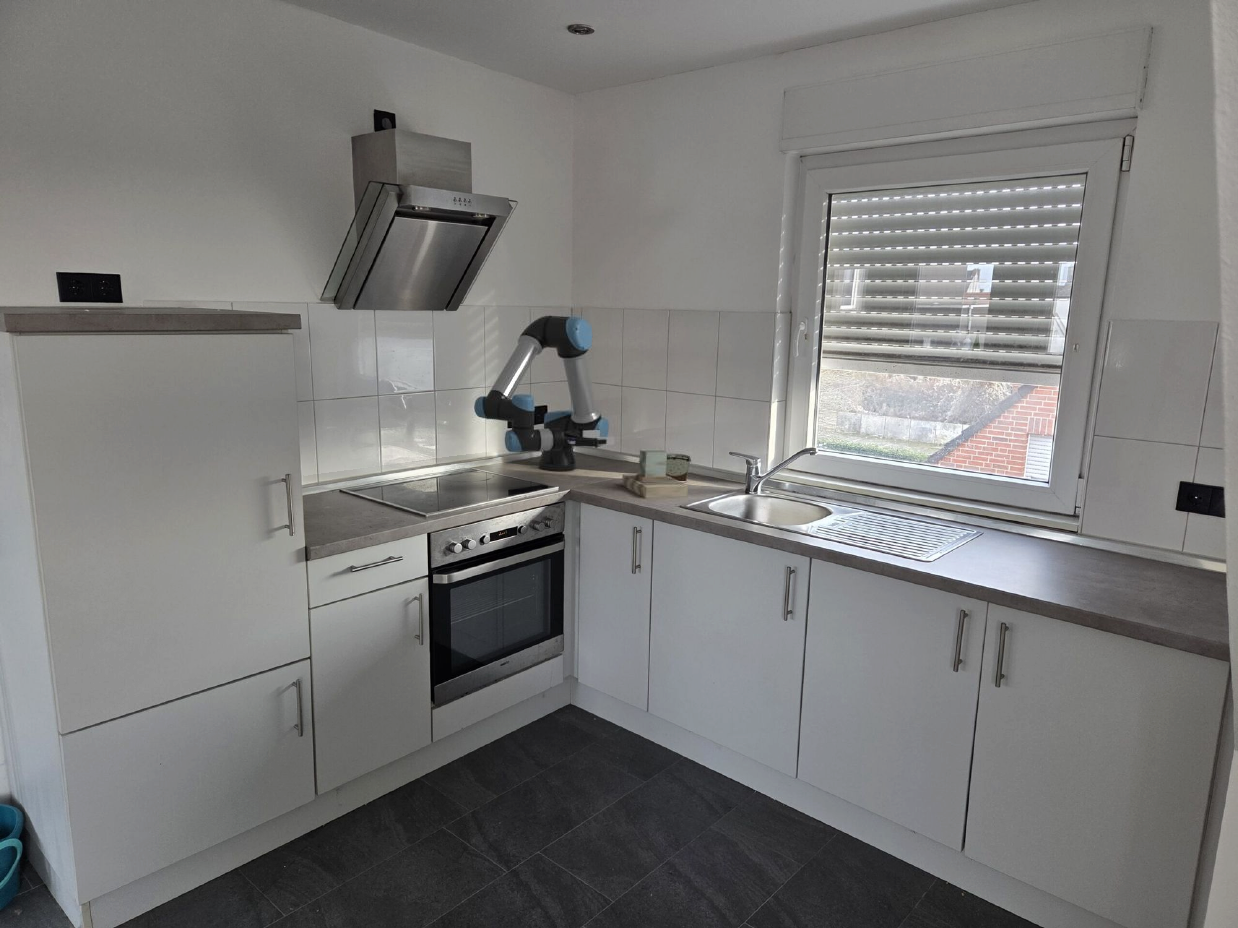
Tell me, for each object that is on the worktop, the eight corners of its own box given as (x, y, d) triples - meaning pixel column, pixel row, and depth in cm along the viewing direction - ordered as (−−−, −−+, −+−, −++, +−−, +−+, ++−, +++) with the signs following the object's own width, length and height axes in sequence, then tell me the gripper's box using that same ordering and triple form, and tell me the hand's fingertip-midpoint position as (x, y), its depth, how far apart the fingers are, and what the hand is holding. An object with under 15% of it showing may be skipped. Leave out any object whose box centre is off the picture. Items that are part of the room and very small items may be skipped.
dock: (622, 484, 302) (622, 473, 301) (661, 483, 308) (661, 472, 307) (645, 498, 282) (646, 486, 281) (687, 496, 288) (687, 485, 288)
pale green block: (635, 478, 295) (637, 449, 293) (660, 477, 299) (662, 449, 297) (642, 481, 289) (644, 452, 288) (667, 480, 293) (669, 452, 291)
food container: (690, 479, 318) (691, 454, 316) (690, 482, 312) (691, 457, 310) (658, 477, 319) (660, 452, 318) (658, 480, 313) (659, 455, 311)
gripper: (538, 443, 294) (593, 441, 302) (561, 457, 271) (620, 454, 280) (539, 423, 292) (594, 421, 300) (562, 435, 270) (620, 432, 278)
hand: (606, 437), depth 290 cm, fingers open, 13 cm apart
